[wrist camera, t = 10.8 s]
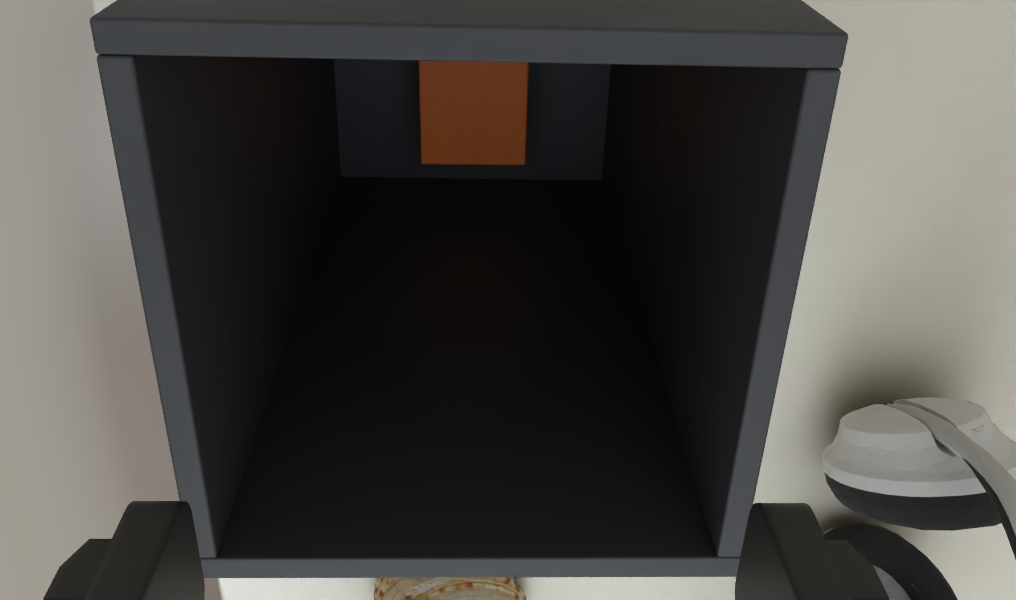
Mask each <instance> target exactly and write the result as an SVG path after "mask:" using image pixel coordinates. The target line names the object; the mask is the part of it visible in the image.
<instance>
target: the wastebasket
mask: <svg viewBox="0 0 1016 600" xmlns="http://www.w3.org/2000/svg"><path fill="white" fill-rule="evenodd" d="M90 25H91V30H92V35H93V40H94V46H95V51H96V53H98V54H99V55H98V56H97V62H98V67H99V73H100V78H101V84H102V89H103V94H104V99H105V105H106V110H107V116H108V121H109V126H110V131H111V137H112V142H113V147H114V153H115V158H116V163H117V169H118V174H119V180H120V185H121V190H122V195H123V201H124V206H125V211H126V217H127V222H128V228H129V233H130V238H131V244H132V249H133V254H134V260H135V265H136V270H137V276H138V281H139V286H140V292H141V297H142V302H143V308H144V313H145V318H146V323H147V329H148V334H149V340H150V345H151V350H152V356H153V361H154V366H155V372H156V377H157V382H158V388H159V393H160V398H161V404H162V409H163V414H164V420H165V425H166V430H167V435H168V441H169V446H170V452H171V457H172V462H173V467H174V473H175V478H176V484H177V489H178V494H179V500H180V501H186V502H188V503H189V505H190V507H191V511H192V515H193V521H194V527H195V532H196V538H197V543H198V549H199V554H200V560H201V565H202V571H203V576H204V578H380V577H736V576H737V571H738V566H739V561H740V556H741V551H742V547H743V542H744V537H745V532H746V527H747V522H748V517H749V513H750V510H751V507H752V506H753V501H754V496H755V491H756V486H757V481H758V476H759V471H760V466H761V461H762V457H763V452H764V447H765V442H766V437H767V432H768V427H769V422H770V417H771V412H772V407H773V403H774V398H775V393H776V388H777V383H778V378H779V373H780V368H781V363H782V358H783V354H784V349H785V344H786V339H787V334H788V329H789V324H790V319H791V314H792V309H793V305H794V300H795V295H796V290H797V285H798V280H799V275H800V270H801V265H802V260H803V256H804V251H805V246H806V241H807V236H808V231H809V226H810V221H811V216H812V211H813V207H814V202H815V197H816V192H817V187H818V182H819V177H820V172H821V167H822V162H823V157H824V153H825V148H826V143H827V138H828V133H829V128H830V123H831V118H832V113H833V108H834V104H835V99H836V94H837V89H838V84H839V79H840V74H841V72H840V70H839V69H838V68H841V67H842V64H843V59H844V54H845V49H846V45H847V40H848V34H847V33H846V32H844V31H843V30H842V29H840V28H839V27H837V26H836V25H835V24H833V23H832V22H831V21H829V20H828V19H826V18H825V17H824V16H822V15H821V14H819V13H818V12H817V11H815V10H814V9H812V8H811V7H810V6H808V5H807V4H806V3H804V2H803V1H801V0H117V1H115V2H114V3H112V4H111V5H109V6H108V7H106V8H105V9H103V10H102V11H100V12H99V13H97V14H96V15H94V16H93V17H92V18H91V19H90ZM418 61H467V62H519V63H529V80H528V110H527V141H526V163H525V165H448V164H422V163H421V151H420V112H419V72H418Z"/></svg>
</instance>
